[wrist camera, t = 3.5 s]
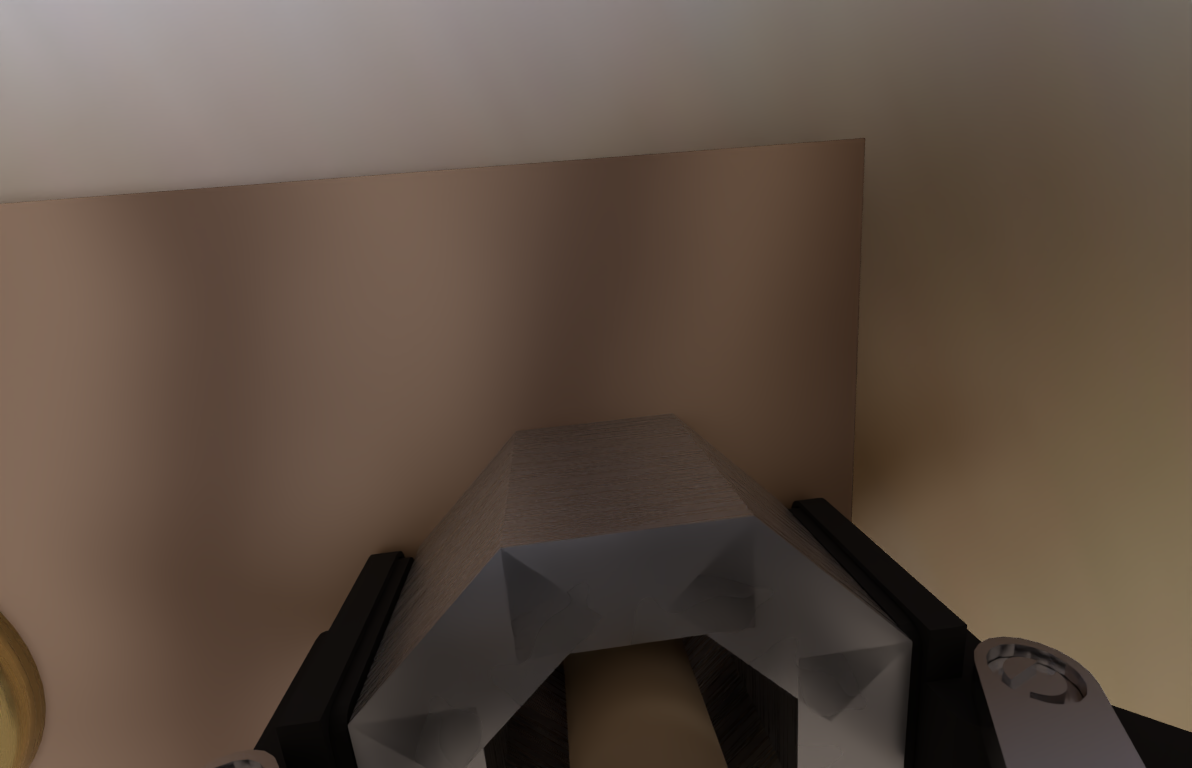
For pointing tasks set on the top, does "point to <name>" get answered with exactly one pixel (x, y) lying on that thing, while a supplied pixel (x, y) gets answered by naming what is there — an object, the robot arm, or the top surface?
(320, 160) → the top surface
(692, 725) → the stand rod
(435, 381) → the walnut board
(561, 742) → the steel ring
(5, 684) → the brass hub
